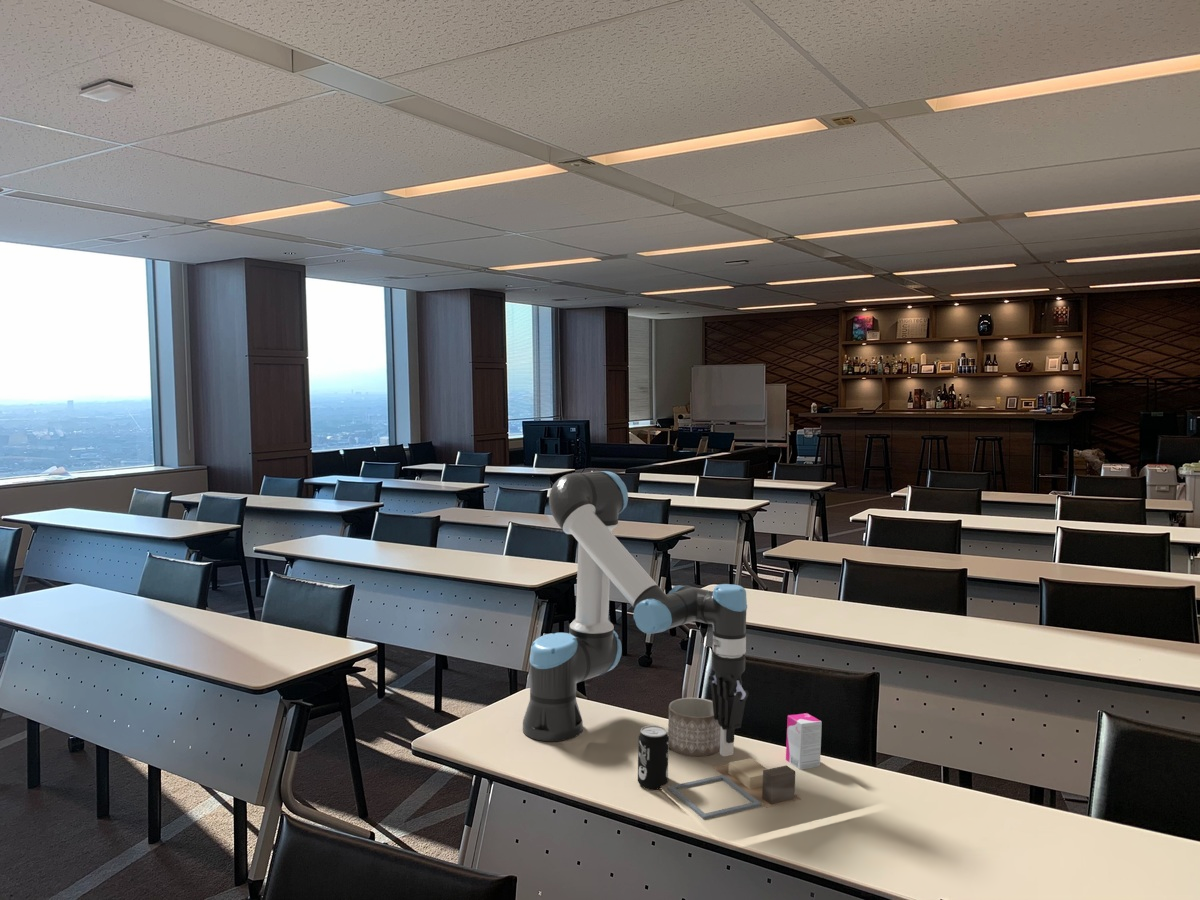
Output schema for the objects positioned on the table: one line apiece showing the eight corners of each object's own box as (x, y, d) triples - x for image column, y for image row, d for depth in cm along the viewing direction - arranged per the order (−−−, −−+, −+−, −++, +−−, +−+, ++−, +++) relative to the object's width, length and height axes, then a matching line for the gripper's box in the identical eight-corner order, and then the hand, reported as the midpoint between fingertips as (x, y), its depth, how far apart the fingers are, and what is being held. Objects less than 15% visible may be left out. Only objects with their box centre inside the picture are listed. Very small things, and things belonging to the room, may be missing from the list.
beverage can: (665, 792, 179) (666, 738, 178) (635, 789, 180) (636, 735, 179) (669, 779, 185) (670, 726, 184) (640, 775, 186) (641, 723, 186)
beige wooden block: (728, 773, 186) (728, 762, 186) (750, 768, 189) (751, 757, 189) (749, 788, 179) (749, 777, 179) (772, 783, 181) (772, 772, 181)
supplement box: (821, 770, 191) (822, 721, 190) (799, 774, 189) (800, 724, 188) (805, 759, 196) (807, 711, 196) (784, 763, 194) (786, 715, 193)
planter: (723, 742, 206) (724, 700, 205) (717, 763, 193) (719, 719, 193) (672, 736, 209) (673, 695, 208) (663, 757, 197) (664, 713, 196)
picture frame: (668, 793, 179) (668, 786, 178) (723, 781, 184) (723, 774, 184) (703, 824, 166) (703, 816, 166) (761, 810, 172) (761, 803, 172)
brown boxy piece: (712, 771, 189) (713, 741, 189) (745, 764, 193) (746, 735, 193) (766, 811, 171) (767, 778, 171) (801, 803, 175) (802, 770, 175)
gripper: (699, 647, 195) (697, 746, 197) (731, 663, 183) (728, 768, 185) (726, 643, 198) (724, 740, 200) (759, 659, 186) (756, 762, 188)
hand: (726, 754), depth 192 cm, fingers closed
